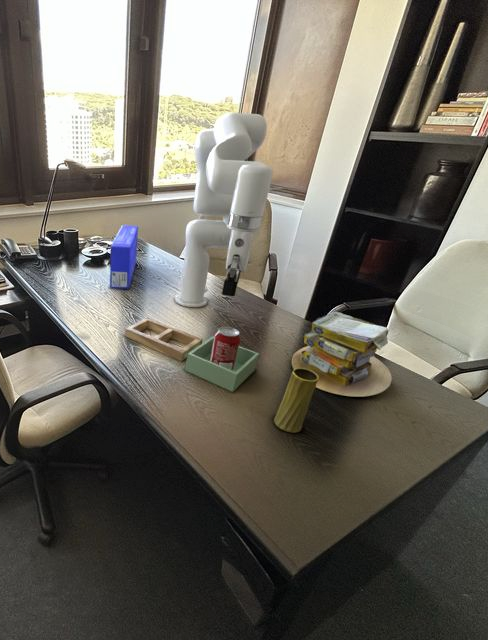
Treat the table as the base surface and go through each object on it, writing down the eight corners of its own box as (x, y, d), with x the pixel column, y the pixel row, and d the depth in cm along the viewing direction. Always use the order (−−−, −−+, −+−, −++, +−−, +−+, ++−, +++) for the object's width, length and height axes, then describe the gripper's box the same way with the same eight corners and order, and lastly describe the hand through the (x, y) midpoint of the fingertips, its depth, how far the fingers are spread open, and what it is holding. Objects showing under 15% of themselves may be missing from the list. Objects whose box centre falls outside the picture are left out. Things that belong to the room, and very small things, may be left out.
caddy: (146, 325, 130) (146, 317, 128) (201, 347, 118) (202, 339, 116) (124, 336, 122) (125, 328, 120) (181, 361, 110) (182, 352, 108)
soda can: (233, 376, 103) (242, 338, 97) (208, 372, 104) (216, 335, 98) (231, 363, 109) (240, 327, 103) (208, 360, 110) (215, 324, 104)
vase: (269, 415, 90) (285, 366, 83) (293, 415, 90) (311, 366, 83) (281, 433, 85) (299, 382, 77) (306, 432, 85) (327, 382, 78)
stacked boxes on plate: (337, 406, 94) (362, 349, 86) (273, 356, 115) (288, 306, 106) (407, 391, 101) (437, 338, 93) (336, 347, 122) (355, 299, 113)
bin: (209, 351, 115) (212, 335, 113) (254, 370, 107) (259, 353, 105) (184, 370, 106) (187, 353, 103) (232, 392, 98) (237, 374, 95)
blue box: (120, 261, 191) (122, 224, 182) (136, 263, 191) (139, 226, 181) (108, 288, 158) (110, 244, 149) (128, 290, 157) (131, 246, 148)
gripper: (259, 231, 81) (242, 303, 90) (262, 217, 95) (246, 280, 104) (224, 227, 84) (211, 298, 92) (232, 213, 97) (219, 276, 106)
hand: (230, 288), depth 98 cm, fingers open, 9 cm apart
